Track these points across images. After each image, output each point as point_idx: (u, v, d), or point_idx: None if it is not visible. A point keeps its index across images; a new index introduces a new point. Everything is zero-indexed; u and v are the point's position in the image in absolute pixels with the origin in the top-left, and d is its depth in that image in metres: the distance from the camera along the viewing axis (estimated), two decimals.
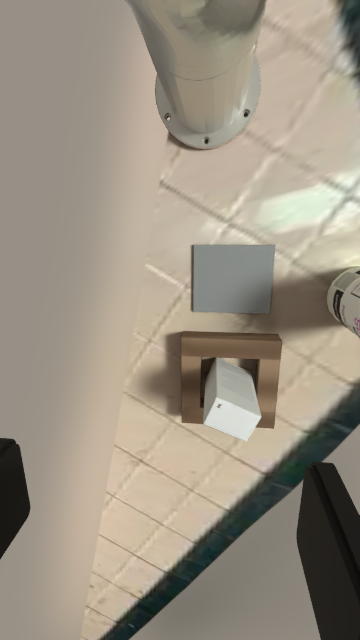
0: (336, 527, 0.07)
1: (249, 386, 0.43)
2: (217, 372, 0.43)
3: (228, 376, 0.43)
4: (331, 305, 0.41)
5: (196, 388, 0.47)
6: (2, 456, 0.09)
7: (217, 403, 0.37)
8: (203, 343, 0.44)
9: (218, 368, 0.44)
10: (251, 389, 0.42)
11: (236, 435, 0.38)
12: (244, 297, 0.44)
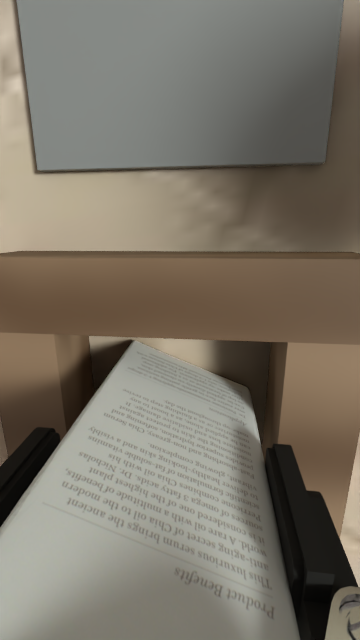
0: (284, 498, 0.08)
1: (243, 466, 0.09)
2: (97, 401, 0.09)
3: (149, 418, 0.10)
4: None
5: None
6: (46, 443, 0.10)
7: None
8: (56, 279, 0.11)
9: (114, 381, 0.11)
10: (250, 484, 0.09)
11: None
12: (223, 93, 0.11)
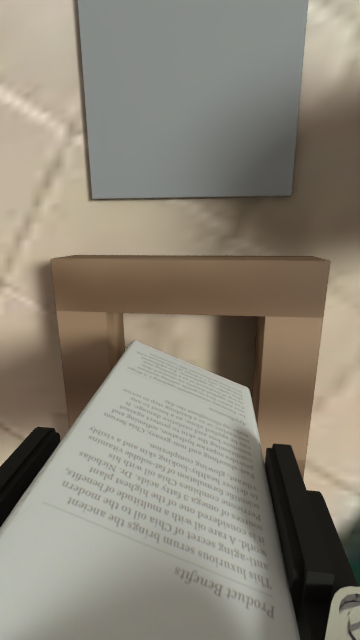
0: (283, 498, 0.08)
1: (243, 466, 0.09)
2: (97, 401, 0.09)
3: (149, 418, 0.10)
4: None
5: None
6: (46, 443, 0.10)
7: None
8: (109, 273, 0.16)
9: (114, 381, 0.11)
10: (250, 484, 0.09)
11: None
12: (222, 149, 0.16)
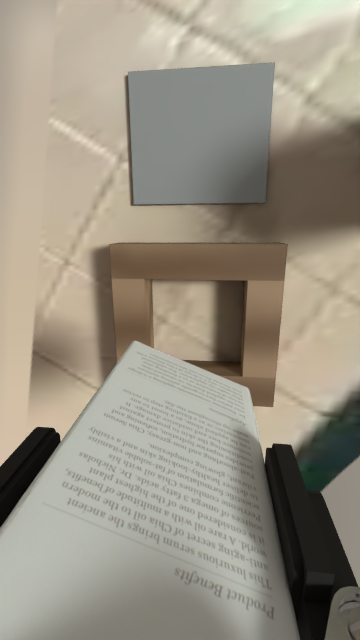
0: (284, 498, 0.08)
1: (243, 466, 0.09)
2: (97, 401, 0.09)
3: (149, 418, 0.10)
4: None
5: (139, 337, 0.27)
6: (46, 443, 0.10)
7: None
8: (147, 253, 0.25)
9: (114, 381, 0.11)
10: (250, 485, 0.09)
11: None
12: (220, 172, 0.25)
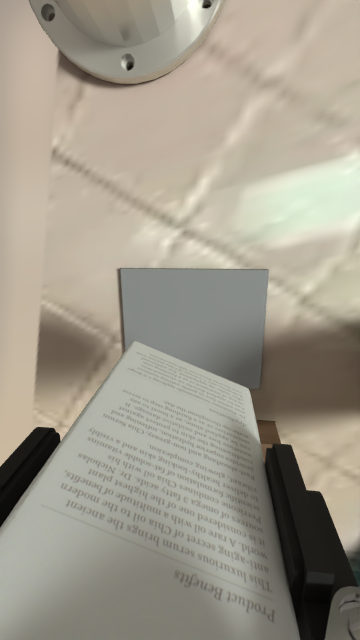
0: (283, 498, 0.08)
1: (244, 467, 0.09)
2: (97, 402, 0.09)
3: (148, 419, 0.10)
4: None
5: None
6: (46, 443, 0.10)
7: None
8: None
9: (114, 381, 0.11)
10: (250, 486, 0.09)
11: None
12: (214, 361, 0.25)
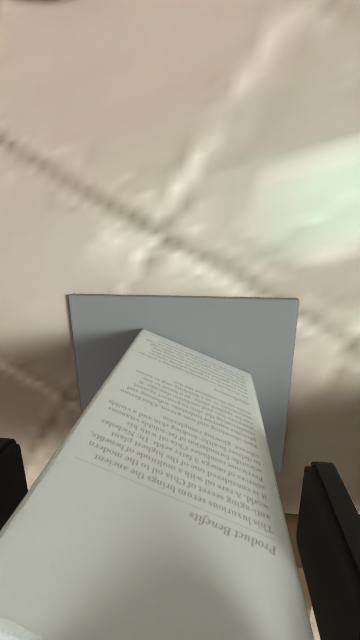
0: (336, 527, 0.07)
1: (247, 438, 0.10)
2: (114, 379, 0.10)
3: (160, 395, 0.11)
4: None
5: None
6: (2, 456, 0.09)
7: None
8: None
9: (127, 363, 0.12)
10: (253, 453, 0.10)
11: None
12: None
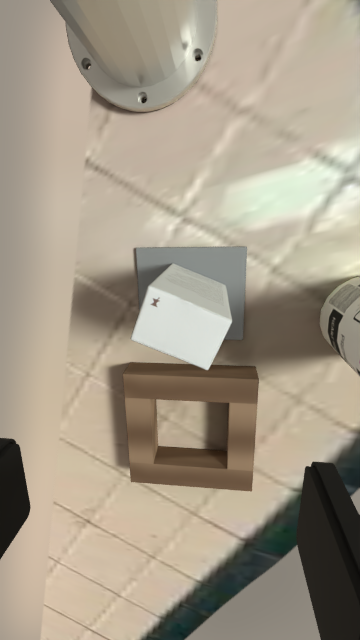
0: (336, 527, 0.07)
1: (219, 293, 0.26)
2: (167, 271, 0.26)
3: (185, 278, 0.27)
4: (326, 330, 0.29)
5: (146, 439, 0.35)
6: (2, 456, 0.09)
7: (152, 296, 0.20)
8: (152, 381, 0.33)
9: (170, 269, 0.28)
10: (221, 295, 0.26)
11: (189, 358, 0.21)
12: None
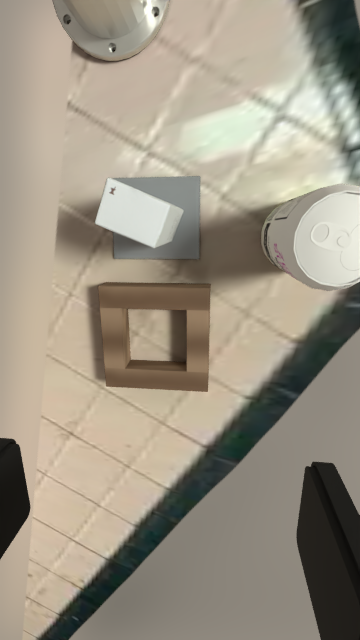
0: (336, 527, 0.07)
1: None
2: None
3: None
4: (263, 244, 0.36)
5: (118, 346, 0.41)
6: (2, 456, 0.09)
7: (110, 186, 0.27)
8: (123, 292, 0.39)
9: None
10: None
11: (139, 238, 0.28)
12: None
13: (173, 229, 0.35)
